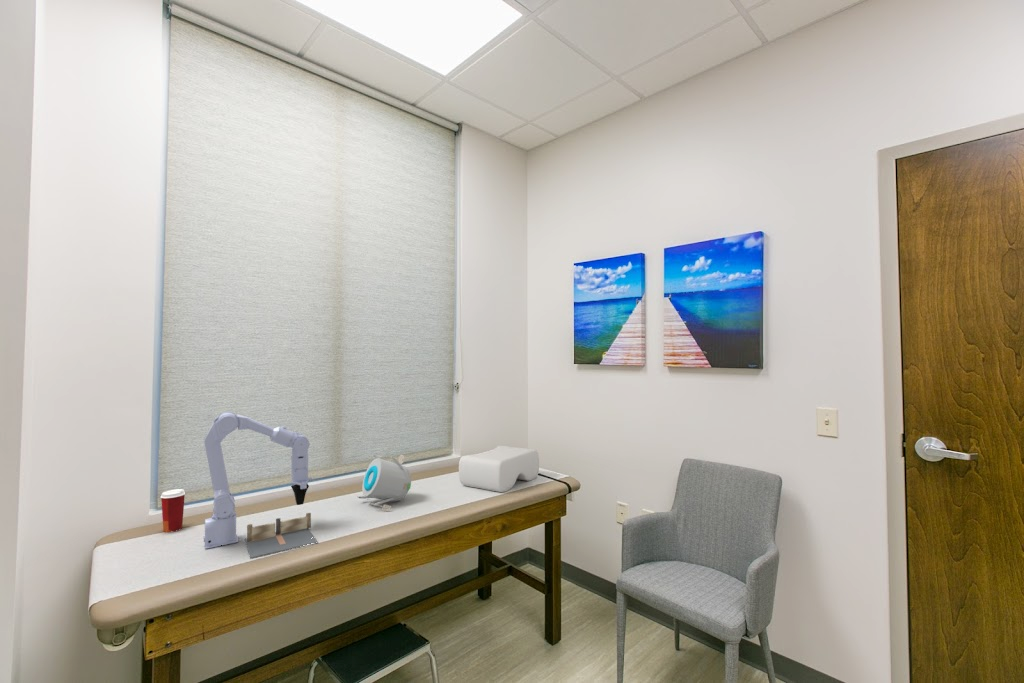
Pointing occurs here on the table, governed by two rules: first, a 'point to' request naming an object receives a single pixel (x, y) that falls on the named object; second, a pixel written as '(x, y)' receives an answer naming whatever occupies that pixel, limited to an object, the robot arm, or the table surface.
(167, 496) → the paper cup
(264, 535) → the fixed fence
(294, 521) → the fence gate
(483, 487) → the knee pillow
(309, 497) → the table surface
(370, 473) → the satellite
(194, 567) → the table surface
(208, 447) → the robot arm
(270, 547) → the card
